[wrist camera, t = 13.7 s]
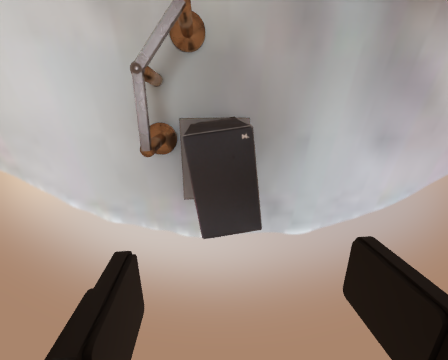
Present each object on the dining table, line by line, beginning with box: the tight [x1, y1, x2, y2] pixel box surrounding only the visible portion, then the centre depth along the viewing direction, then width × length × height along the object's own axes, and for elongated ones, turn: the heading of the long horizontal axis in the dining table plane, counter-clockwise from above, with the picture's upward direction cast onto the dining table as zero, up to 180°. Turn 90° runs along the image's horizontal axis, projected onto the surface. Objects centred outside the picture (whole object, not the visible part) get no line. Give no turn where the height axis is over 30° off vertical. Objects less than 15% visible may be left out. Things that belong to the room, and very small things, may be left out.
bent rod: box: [130, 0, 205, 157], centre depth 23 cm, size 5×17×9 cm, turn 162°
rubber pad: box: [179, 118, 250, 200], centre depth 30 cm, size 9×11×1 cm
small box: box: [183, 117, 262, 239], centre depth 25 cm, size 11×6×10 cm, turn 8°
